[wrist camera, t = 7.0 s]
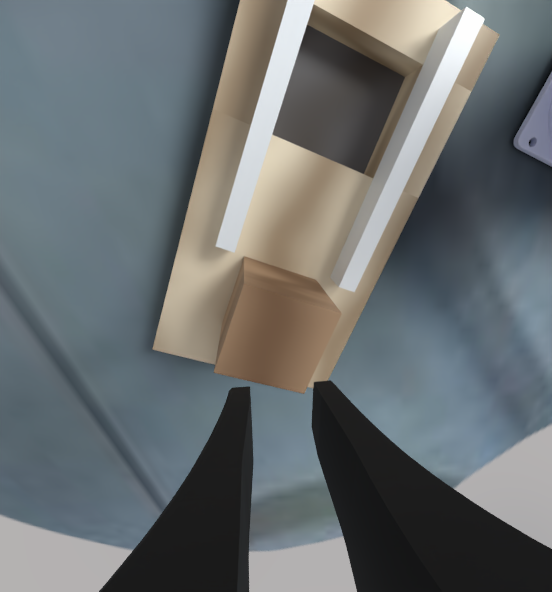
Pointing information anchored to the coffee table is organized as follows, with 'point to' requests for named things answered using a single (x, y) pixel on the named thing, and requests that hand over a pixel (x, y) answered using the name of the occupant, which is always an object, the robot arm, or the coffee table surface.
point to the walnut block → (275, 327)
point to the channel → (399, 152)
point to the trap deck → (308, 157)
